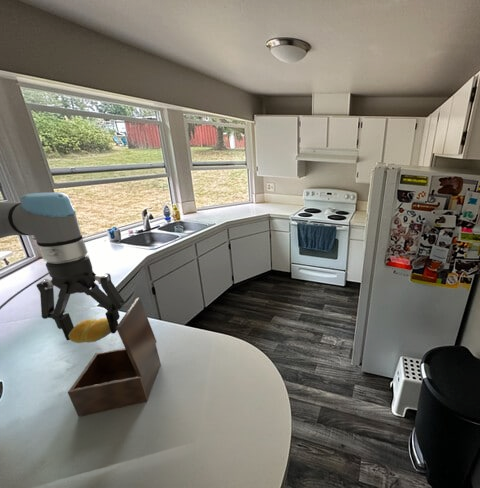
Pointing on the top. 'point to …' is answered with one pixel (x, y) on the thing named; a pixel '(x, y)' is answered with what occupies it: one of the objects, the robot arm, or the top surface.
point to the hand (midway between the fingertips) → (94, 333)
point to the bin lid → (137, 336)
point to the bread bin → (112, 382)
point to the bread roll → (90, 330)
